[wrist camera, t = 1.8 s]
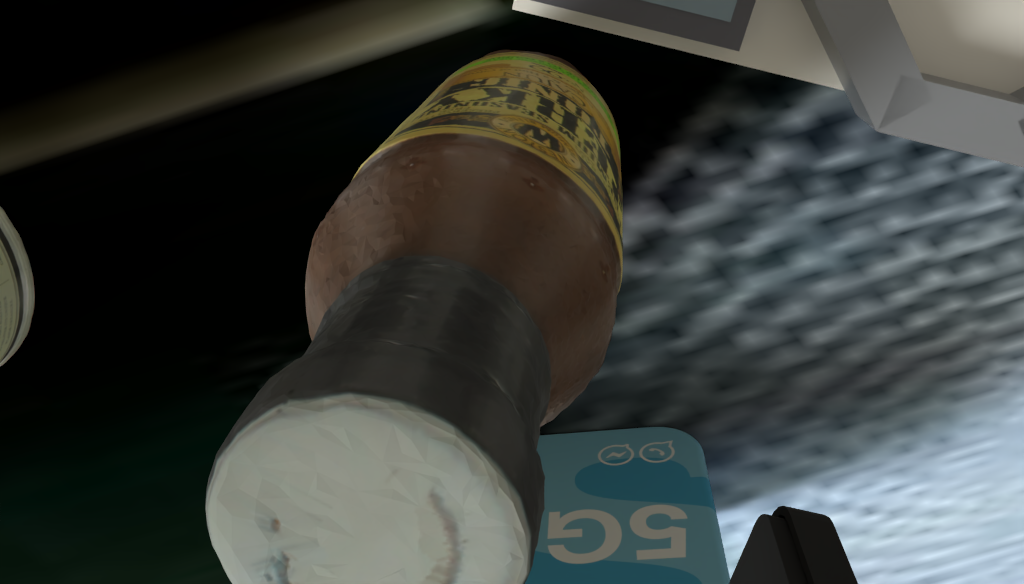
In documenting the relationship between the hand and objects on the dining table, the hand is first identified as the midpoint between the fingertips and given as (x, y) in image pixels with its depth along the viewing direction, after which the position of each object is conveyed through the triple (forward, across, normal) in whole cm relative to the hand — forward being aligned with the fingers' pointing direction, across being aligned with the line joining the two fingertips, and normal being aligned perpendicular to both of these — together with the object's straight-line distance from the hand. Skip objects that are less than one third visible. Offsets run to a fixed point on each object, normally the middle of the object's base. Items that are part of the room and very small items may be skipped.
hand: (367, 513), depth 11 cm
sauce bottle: (+20, -1, 0) cm, 20 cm away
